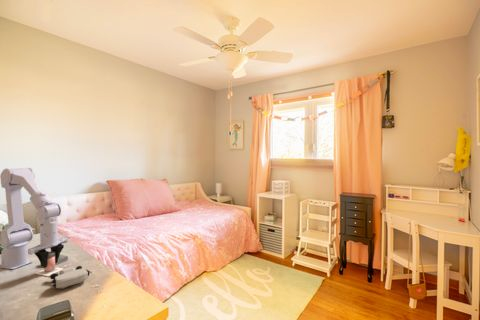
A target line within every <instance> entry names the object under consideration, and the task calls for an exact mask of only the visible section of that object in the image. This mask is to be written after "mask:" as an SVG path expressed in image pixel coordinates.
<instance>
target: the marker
mask: <svg viewBox="0 0 480 320" xmlns="http://www.w3.org/2000/svg"><path fill="white" fill-rule="evenodd" d="M55 267H56V265H55V251H51V250H50V251H49V253H48V258H47V267H45V268H44V267H43V268H44V269H43V270H44V271H51V270H54V269H55Z"/></svg>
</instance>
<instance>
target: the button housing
mask: <svg viewBox="0 0 480 320" xmlns="http://www.w3.org/2000/svg"><path fill="white" fill-rule="evenodd" d="M68 257H69V256H68V255H64V254H61V256H59V258H58V262H57V263H55V266H57V265H60V264H62V263H64V262H65V263H66V262H67V261H68V260H69V258H68Z"/></svg>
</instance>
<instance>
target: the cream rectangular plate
mask: <svg viewBox="0 0 480 320" xmlns="http://www.w3.org/2000/svg"><path fill="white" fill-rule="evenodd" d="M62 269H64V268H62V267H56V266H55V269H54V270H51V271H44V269H42V270H39V271H37V272H34V275H37V276H38V275H39V276H41V277H42V276H43V277H48V276H49V275H51V274H53V273H57V274H58V273H59V272H60V271H61V270H62ZM48 278H49V277H48Z"/></svg>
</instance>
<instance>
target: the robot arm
mask: <svg viewBox="0 0 480 320" xmlns="http://www.w3.org/2000/svg"><path fill="white" fill-rule="evenodd" d="M35 177H36V173H35V171H34V169H33V168H31V167H25V168H24V167H23V168H4V169H2V171H1V172H0V184H1V188H3V189H5V200H6V211H7V219H8V221H7V222H8V225H7V226H6V227H5V228H3V229H2V230H1V231H0V246H1V247H2V249H1V254H0V256H1V257H0V259H1V261H0V262H1V265H0V268H2V269H8V270H15V269H18V268H22V267H23V266H26V265H29V264H31V263H33V262H34V260H29V255H35V256H36V257H37V258H38V260H39V262H40V263H39V264H40V265H41V268H45V267H47V258H48V253H49V252H51V251H55V263H57V262H58V258H59V255H60V253H61V254H62V251H63V249H64V247H65V246H64V244H66V243H69V238H68V237H63V238H62V237H61V238H59V233H58V232H59V231H58V230H59V229H58V222H59V220H58V217H59V216H60V215H61V213H62V208H61V206H60V204H59V203H57V202H55V201H52V199H51V198H50V196H49V195H48V194H47V192H45V191H41V189H40V188H39V186H38V184H37V182H36V180H35ZM22 188H24V190H26V191H27V193H28V194H29V195H30V197H29V200H30V202H31V204H32V205H33V206H34V208H35V209H36V213H35V215H36V217H37V222H38V224H39V225H40V226H39V229H40V230H39V231H40V233H39V235H40V236H39V237H40V238H39V239H40V242H39V244H38V245H36V246H32V247H31V248H29V244H30V243H31V241H32V240H33V238H34V232H33V230H32V226H31V224H28V223H26V222H25V219H24V208H23V200H22V199H23V198H22V191H21V190H22ZM47 249H50V251H47Z"/></svg>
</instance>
